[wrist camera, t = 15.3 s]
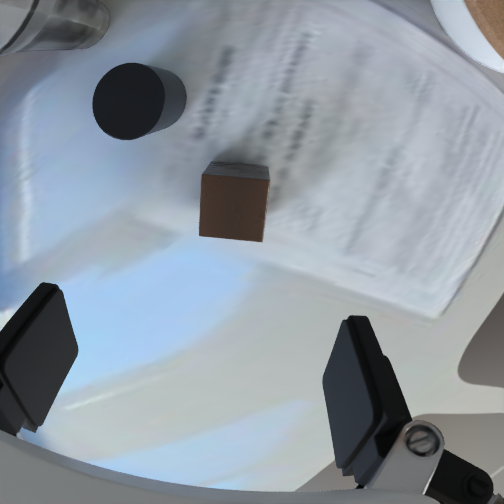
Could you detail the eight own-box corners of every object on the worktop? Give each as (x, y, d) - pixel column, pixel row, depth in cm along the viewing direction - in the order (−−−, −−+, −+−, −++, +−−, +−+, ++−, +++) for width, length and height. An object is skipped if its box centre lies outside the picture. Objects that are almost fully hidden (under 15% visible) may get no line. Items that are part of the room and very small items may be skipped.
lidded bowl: (520, 9, 16) (595, 3, 6) (495, 103, 21) (581, 122, 11) (421, -68, 14) (482, -113, 4) (386, 25, 19) (459, -7, 9)
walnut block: (208, 214, 27) (198, 236, 23) (211, 161, 25) (201, 174, 21) (262, 219, 27) (262, 242, 23) (268, 166, 25) (270, 180, 21)
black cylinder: (125, 130, 24) (91, 140, 18) (128, 70, 21) (94, 66, 16) (184, 131, 24) (163, 141, 18) (189, 69, 22) (168, 61, 16)
